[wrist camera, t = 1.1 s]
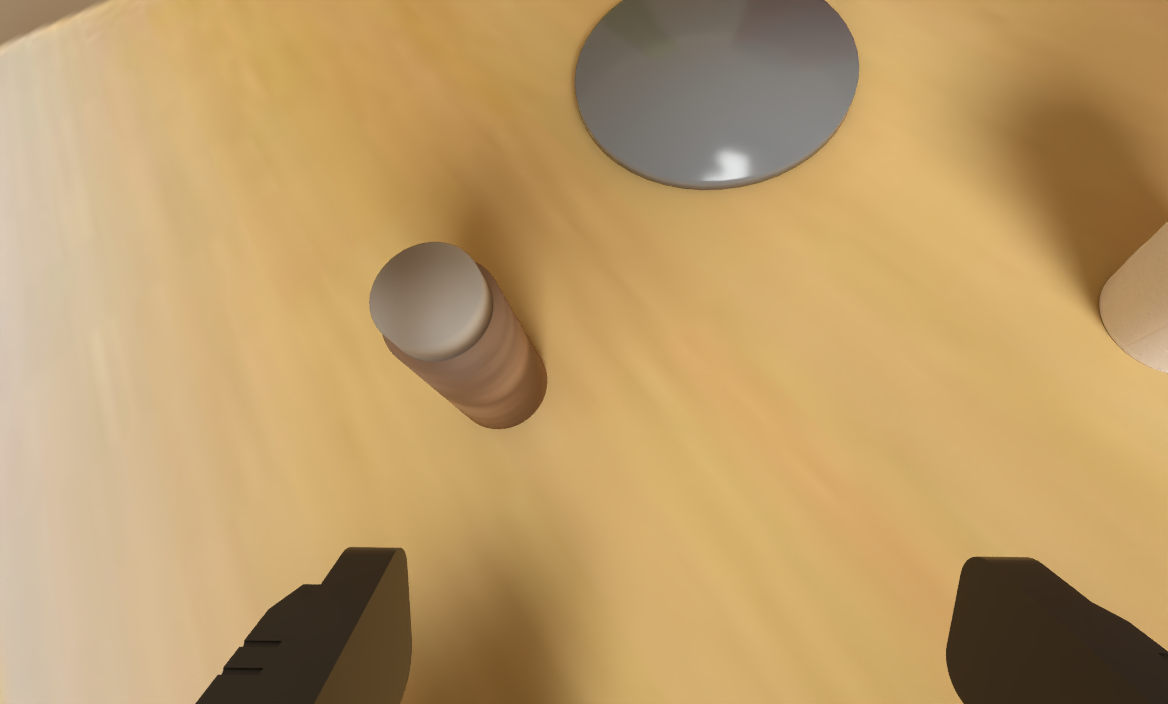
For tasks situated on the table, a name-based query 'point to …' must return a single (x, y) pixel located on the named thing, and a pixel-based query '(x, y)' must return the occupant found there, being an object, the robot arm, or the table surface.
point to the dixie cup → (1140, 303)
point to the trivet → (715, 87)
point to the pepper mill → (458, 334)
